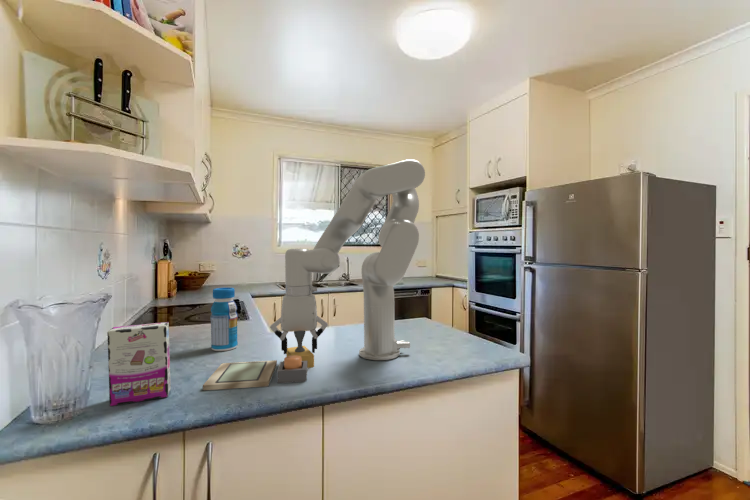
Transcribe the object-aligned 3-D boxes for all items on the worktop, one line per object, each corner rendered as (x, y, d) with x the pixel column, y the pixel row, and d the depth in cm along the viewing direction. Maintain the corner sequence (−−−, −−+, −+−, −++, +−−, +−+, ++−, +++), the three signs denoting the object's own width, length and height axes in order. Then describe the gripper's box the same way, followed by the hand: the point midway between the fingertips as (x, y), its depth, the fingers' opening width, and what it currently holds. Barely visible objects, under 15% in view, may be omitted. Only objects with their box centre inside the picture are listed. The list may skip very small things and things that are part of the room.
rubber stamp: (314, 367, 100) (314, 324, 100) (293, 370, 98) (293, 326, 97) (305, 357, 109) (304, 318, 109) (286, 360, 106) (285, 320, 106)
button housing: (307, 371, 96) (307, 360, 96) (306, 381, 89) (306, 369, 89) (280, 373, 95) (280, 362, 95) (277, 383, 88) (277, 371, 88)
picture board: (276, 364, 102) (276, 359, 102) (268, 386, 86) (268, 380, 86) (221, 367, 100) (221, 362, 100) (202, 390, 84) (202, 384, 84)
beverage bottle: (212, 353, 114) (211, 290, 113) (209, 346, 121) (208, 288, 121) (240, 349, 118) (239, 288, 118) (236, 343, 125) (235, 286, 125)
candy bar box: (171, 389, 85) (169, 321, 85) (168, 397, 81) (167, 325, 80) (114, 398, 81) (113, 325, 80) (108, 407, 76) (106, 330, 76)
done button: (302, 368, 95) (302, 354, 95) (301, 373, 90) (301, 360, 90) (285, 369, 94) (285, 355, 94) (283, 375, 90) (283, 361, 90)
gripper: (329, 289, 108) (329, 347, 108) (269, 290, 105) (270, 350, 106) (329, 292, 100) (330, 354, 101) (265, 293, 98) (266, 357, 98)
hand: (299, 351), depth 103 cm, fingers open, 7 cm apart
